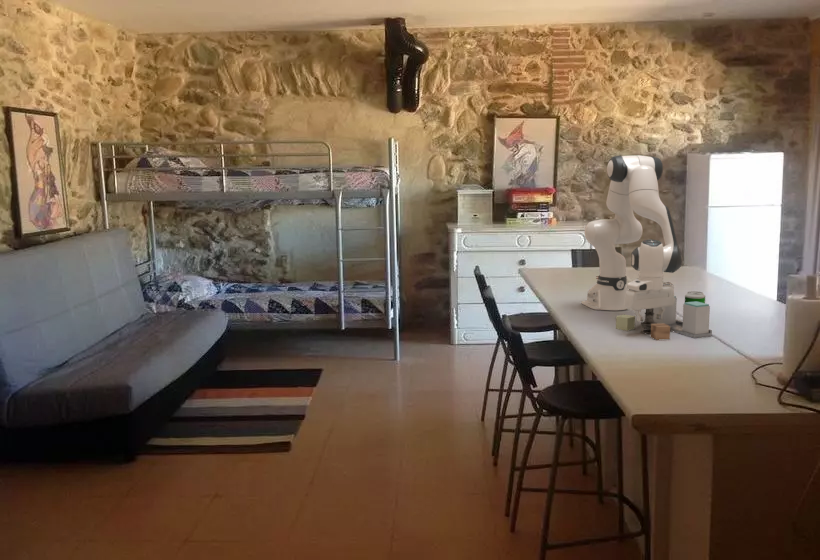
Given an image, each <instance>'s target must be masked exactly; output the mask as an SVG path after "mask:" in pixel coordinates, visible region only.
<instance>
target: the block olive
mask: <svg viewBox="0 0 820 560" xmlns="http://www.w3.org/2000/svg"><path fill="white" fill-rule="evenodd" d="M615 319H616V320H615V329H616V330H620V329H621V331H625V330H626V332H628V331H631V330H635V329H636V327H635V326H636V316H635V315H629V314H621V315H619V314H618V315H616V317H615Z"/></svg>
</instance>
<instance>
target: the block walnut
mask: <svg viewBox="0 0 820 560" xmlns="http://www.w3.org/2000/svg"><path fill="white" fill-rule="evenodd" d="M670 336H671V331H670V326H668V325H667V324H665V323H661V324H651V334H650V338H652V339H653V338H654V339H653V340H655V339H656V340H655V341H660V340H659V339H671V337H670Z"/></svg>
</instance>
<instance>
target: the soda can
mask: <svg viewBox="0 0 820 560" xmlns="http://www.w3.org/2000/svg"><path fill="white" fill-rule="evenodd" d="M695 301H697V302H701V303H705V304H706V294H704V293H703V292H701V291H695V290H694V291H692V290H691V291H687V292H686V293H685V294H684V303H685V302H695Z"/></svg>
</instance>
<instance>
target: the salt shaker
mask: <svg viewBox="0 0 820 560" xmlns="http://www.w3.org/2000/svg"><path fill="white" fill-rule="evenodd" d="M653 311H654V308H652V309H645V312H644V317H645V318H644V320H643V321H640V322H641V323H640V324H641V327H642V329H643V330H642V331H641V334H644V333H646V334H645V335H651V324H657V323H655V322H654V319H653V318H654V313H653Z"/></svg>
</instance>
